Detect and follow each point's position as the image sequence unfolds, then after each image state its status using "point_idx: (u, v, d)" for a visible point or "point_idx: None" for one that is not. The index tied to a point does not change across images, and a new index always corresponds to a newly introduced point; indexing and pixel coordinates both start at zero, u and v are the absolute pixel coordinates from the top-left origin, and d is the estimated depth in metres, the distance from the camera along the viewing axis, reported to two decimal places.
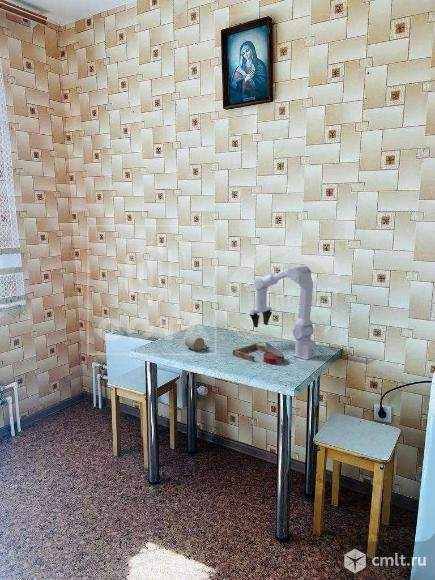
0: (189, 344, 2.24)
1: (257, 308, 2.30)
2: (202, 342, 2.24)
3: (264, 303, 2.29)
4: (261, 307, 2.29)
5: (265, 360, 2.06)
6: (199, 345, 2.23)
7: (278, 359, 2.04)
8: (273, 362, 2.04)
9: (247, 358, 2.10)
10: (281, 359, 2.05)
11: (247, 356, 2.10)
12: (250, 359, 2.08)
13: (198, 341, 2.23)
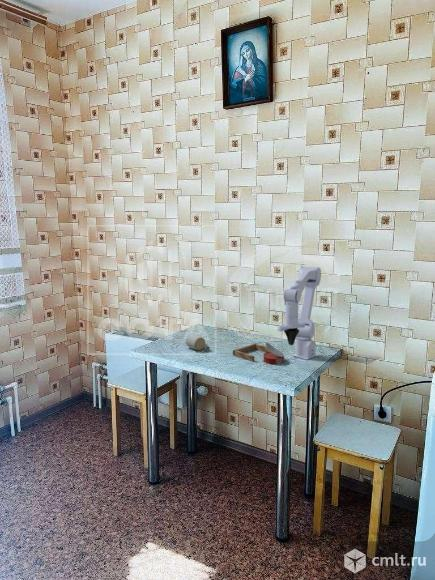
0: (190, 344, 2.25)
1: (286, 324, 1.96)
2: (203, 342, 2.25)
3: (295, 318, 1.95)
4: (291, 323, 1.95)
5: (265, 360, 2.06)
6: (200, 344, 2.24)
7: (278, 359, 2.04)
8: (273, 362, 2.04)
9: (247, 358, 2.10)
10: (281, 359, 2.05)
11: (247, 356, 2.10)
12: (250, 359, 2.08)
13: (199, 341, 2.23)
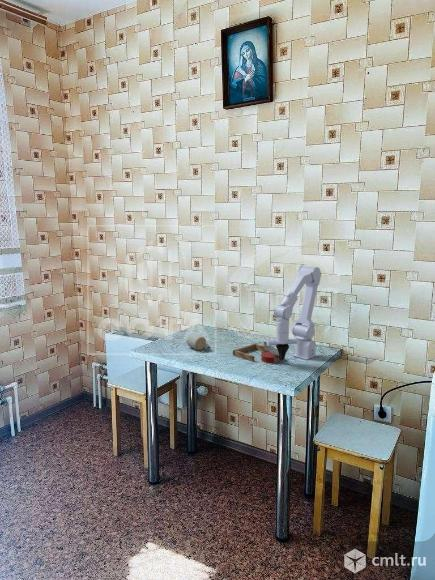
0: (191, 344, 2.25)
1: (276, 339, 2.02)
2: (204, 342, 2.25)
3: (284, 335, 2.00)
4: (280, 339, 2.00)
5: (263, 359, 2.07)
6: (201, 344, 2.24)
7: (276, 358, 2.05)
8: (271, 361, 2.05)
9: (247, 358, 2.10)
10: (279, 358, 2.06)
11: (247, 356, 2.10)
12: (250, 359, 2.08)
13: (200, 341, 2.23)
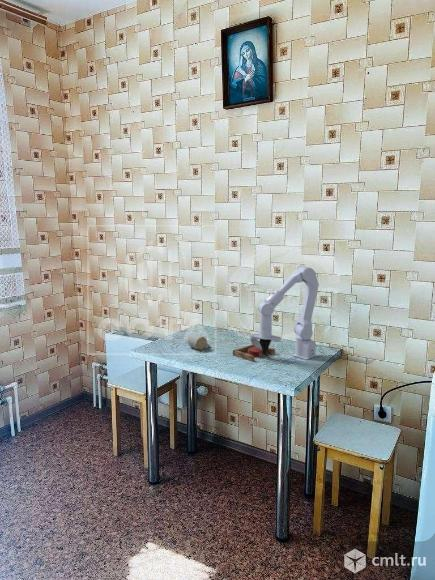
0: (192, 343, 2.25)
1: None
2: (205, 341, 2.25)
3: (263, 330, 2.07)
4: (260, 333, 2.09)
5: (249, 353, 2.16)
6: (201, 344, 2.24)
7: (261, 352, 2.13)
8: (256, 355, 2.13)
9: (247, 358, 2.10)
10: None
11: (247, 356, 2.10)
12: (250, 359, 2.08)
13: (201, 340, 2.24)
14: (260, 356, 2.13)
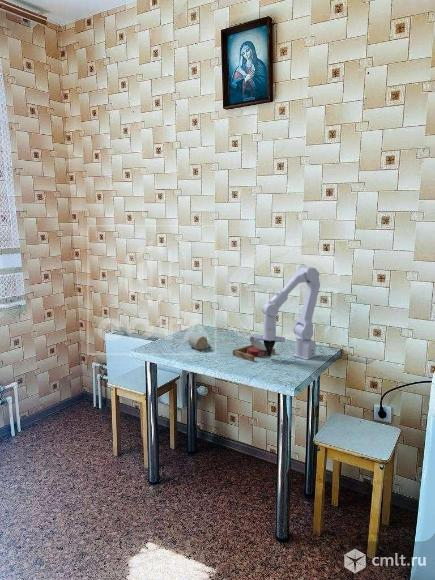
0: (192, 343, 2.26)
1: None
2: (205, 341, 2.26)
3: (268, 331, 2.06)
4: (265, 335, 2.07)
5: (248, 353, 2.17)
6: (202, 344, 2.25)
7: (260, 352, 2.14)
8: (255, 355, 2.14)
9: (247, 358, 2.10)
10: (263, 352, 2.15)
11: (247, 356, 2.10)
12: (250, 359, 2.08)
13: (201, 340, 2.24)
14: (259, 356, 2.14)
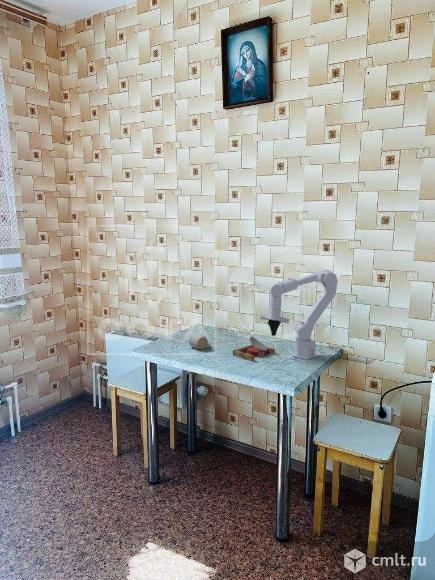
0: (193, 343, 2.26)
1: None
2: (206, 341, 2.26)
3: (272, 311, 2.10)
4: (269, 314, 2.11)
5: (248, 353, 2.17)
6: (202, 344, 2.25)
7: (260, 352, 2.14)
8: (255, 355, 2.14)
9: (247, 358, 2.10)
10: (263, 352, 2.15)
11: (247, 356, 2.10)
12: (250, 359, 2.08)
13: (202, 340, 2.24)
14: (259, 356, 2.14)
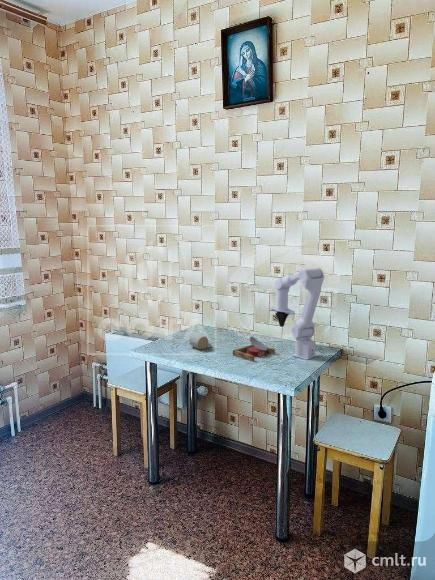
0: (193, 343, 2.26)
1: None
2: (206, 341, 2.26)
3: (278, 303, 2.27)
4: None
5: (248, 353, 2.17)
6: (203, 344, 2.25)
7: (260, 352, 2.14)
8: (255, 355, 2.14)
9: (247, 358, 2.10)
10: (263, 352, 2.15)
11: (247, 356, 2.10)
12: (250, 359, 2.08)
13: (202, 340, 2.24)
14: (259, 356, 2.14)
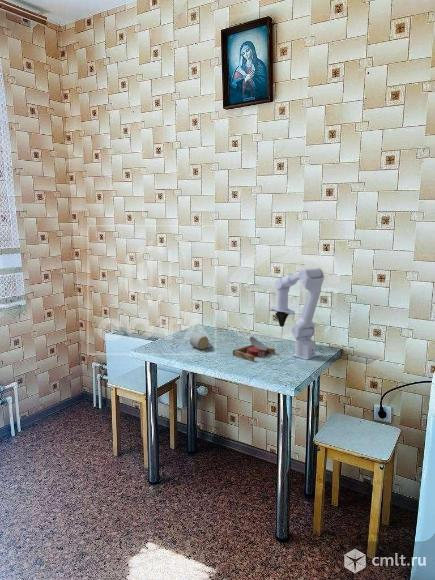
0: (194, 343, 2.26)
1: None
2: (206, 341, 2.26)
3: (278, 303, 2.27)
4: None
5: (248, 353, 2.17)
6: (203, 343, 2.25)
7: (260, 352, 2.14)
8: (255, 355, 2.14)
9: (247, 358, 2.10)
10: (263, 352, 2.15)
11: (247, 356, 2.10)
12: (250, 359, 2.08)
13: (202, 340, 2.24)
14: (259, 356, 2.14)
